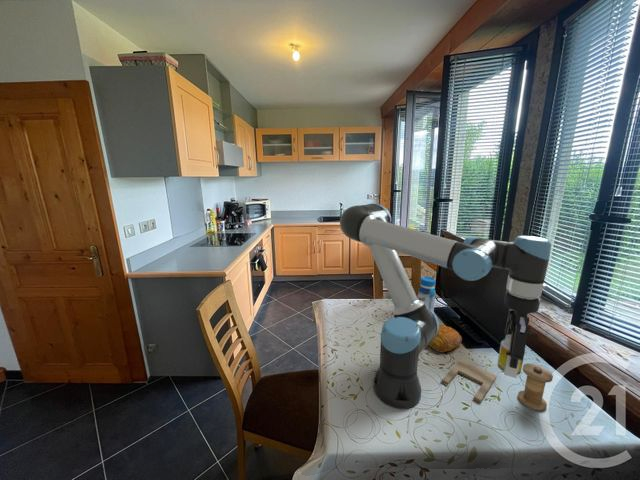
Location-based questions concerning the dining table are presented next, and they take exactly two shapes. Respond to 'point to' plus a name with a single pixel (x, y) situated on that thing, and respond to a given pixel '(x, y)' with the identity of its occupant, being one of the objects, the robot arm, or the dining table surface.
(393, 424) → the dining table surface
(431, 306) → the beverage bottle
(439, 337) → the golden brown rounded loaf
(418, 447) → the dining table surface
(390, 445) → the dining table surface
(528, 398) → the bobbin
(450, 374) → the notched board
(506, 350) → the supplement bottle
